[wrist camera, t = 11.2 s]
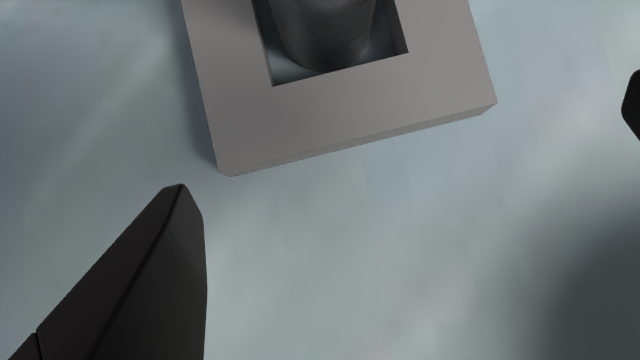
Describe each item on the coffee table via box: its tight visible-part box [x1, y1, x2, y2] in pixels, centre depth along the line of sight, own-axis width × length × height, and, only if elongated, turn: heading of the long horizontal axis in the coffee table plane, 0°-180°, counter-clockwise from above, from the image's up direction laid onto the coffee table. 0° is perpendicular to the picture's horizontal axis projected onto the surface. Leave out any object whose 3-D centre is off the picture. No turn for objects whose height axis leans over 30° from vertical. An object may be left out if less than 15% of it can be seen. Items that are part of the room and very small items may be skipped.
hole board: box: [181, 0, 498, 177], centre depth 19 cm, size 12×12×2 cm
